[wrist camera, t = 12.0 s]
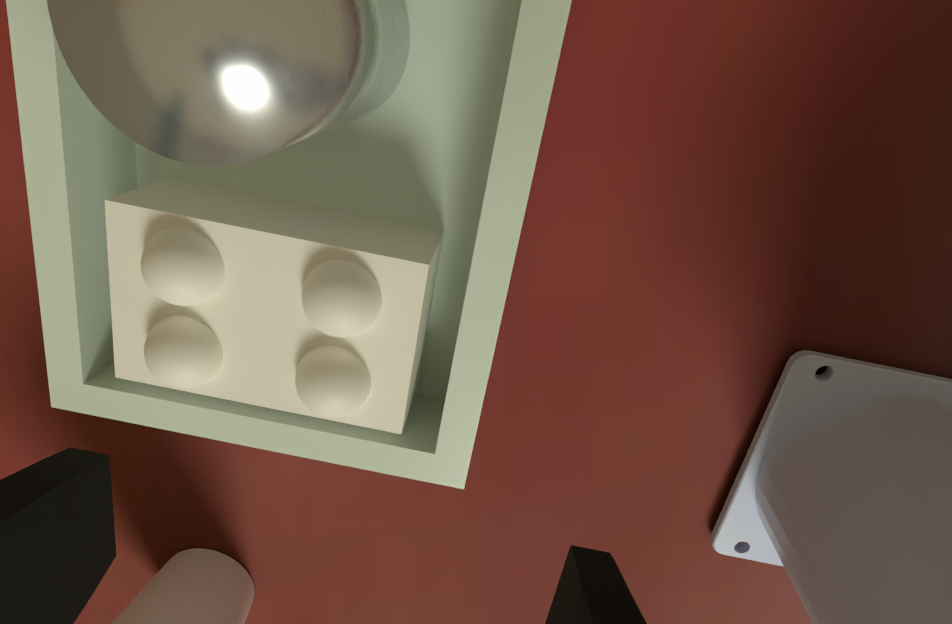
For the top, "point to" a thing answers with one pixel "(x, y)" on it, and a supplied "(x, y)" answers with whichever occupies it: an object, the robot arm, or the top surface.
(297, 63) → the tin can
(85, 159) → the tote
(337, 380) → the egg carton
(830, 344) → the top surface
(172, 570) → the smoothie
